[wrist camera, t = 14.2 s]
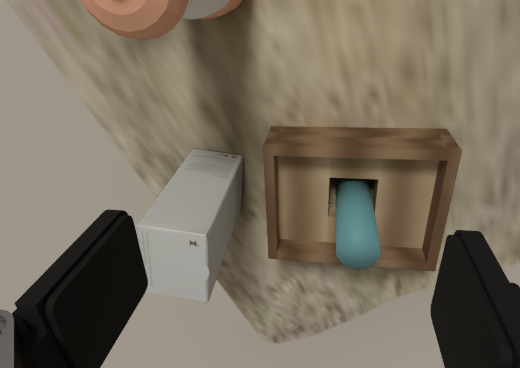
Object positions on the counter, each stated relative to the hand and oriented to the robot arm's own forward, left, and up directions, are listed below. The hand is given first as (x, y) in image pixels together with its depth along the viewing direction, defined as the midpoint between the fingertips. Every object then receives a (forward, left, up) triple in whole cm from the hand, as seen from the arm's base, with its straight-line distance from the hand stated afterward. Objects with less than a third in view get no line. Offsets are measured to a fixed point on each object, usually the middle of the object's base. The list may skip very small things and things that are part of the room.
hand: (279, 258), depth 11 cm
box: (-4, +14, -30) cm, 34 cm away
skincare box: (+12, +14, -31) cm, 36 cm away
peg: (-4, +14, -30) cm, 34 cm away
